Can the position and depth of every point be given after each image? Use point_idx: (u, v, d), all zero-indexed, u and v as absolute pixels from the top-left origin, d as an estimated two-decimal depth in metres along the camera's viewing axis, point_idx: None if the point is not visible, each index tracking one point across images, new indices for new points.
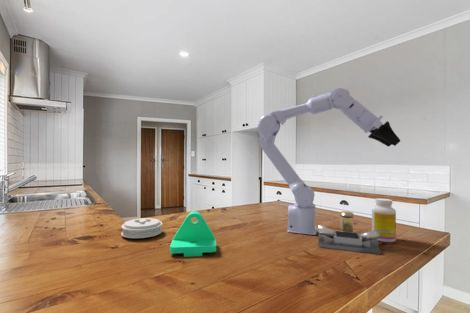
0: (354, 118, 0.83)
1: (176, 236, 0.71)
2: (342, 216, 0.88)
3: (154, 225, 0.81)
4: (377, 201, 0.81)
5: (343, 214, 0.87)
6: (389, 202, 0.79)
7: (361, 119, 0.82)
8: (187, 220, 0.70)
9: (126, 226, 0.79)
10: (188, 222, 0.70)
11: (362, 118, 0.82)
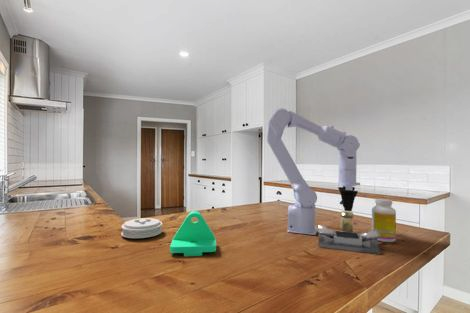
0: (342, 167, 0.87)
1: (176, 236, 0.71)
2: (342, 216, 0.88)
3: (154, 225, 0.81)
4: (377, 201, 0.81)
5: (343, 214, 0.87)
6: (389, 202, 0.79)
7: (344, 173, 0.87)
8: (187, 220, 0.70)
9: (126, 226, 0.79)
10: (188, 222, 0.70)
11: (345, 173, 0.86)
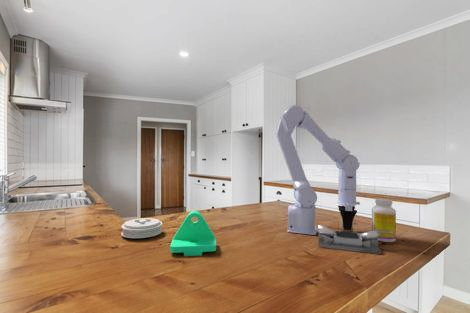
0: (342, 187, 0.87)
1: (176, 235, 0.72)
2: None
3: (154, 225, 0.81)
4: (377, 201, 0.81)
5: None
6: (389, 202, 0.79)
7: (344, 192, 0.87)
8: (187, 220, 0.70)
9: (126, 226, 0.79)
10: (188, 222, 0.70)
11: (345, 192, 0.86)
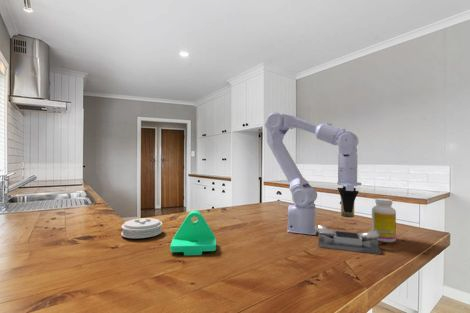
0: (339, 166, 0.82)
1: (176, 235, 0.72)
2: None
3: (154, 225, 0.81)
4: (377, 201, 0.81)
5: None
6: (389, 202, 0.79)
7: (344, 172, 0.80)
8: (187, 219, 0.70)
9: (126, 226, 0.79)
10: (188, 221, 0.71)
11: (346, 172, 0.80)
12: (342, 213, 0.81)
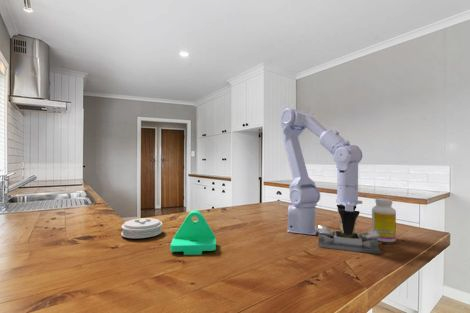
0: (337, 182, 0.77)
1: (177, 235, 0.72)
2: None
3: (154, 225, 0.81)
4: (377, 201, 0.81)
5: None
6: (389, 202, 0.79)
7: (343, 189, 0.74)
8: (187, 219, 0.71)
9: (126, 226, 0.79)
10: (188, 221, 0.71)
11: (345, 189, 0.74)
12: None
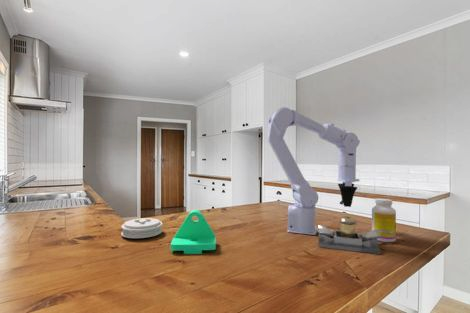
0: (343, 164, 0.89)
1: (177, 234, 0.73)
2: (342, 222, 0.75)
3: (154, 225, 0.81)
4: (377, 201, 0.81)
5: (343, 220, 0.74)
6: (389, 202, 0.79)
7: (343, 169, 0.88)
8: (188, 218, 0.72)
9: (126, 226, 0.79)
10: (189, 220, 0.72)
11: (345, 169, 0.88)
12: None
